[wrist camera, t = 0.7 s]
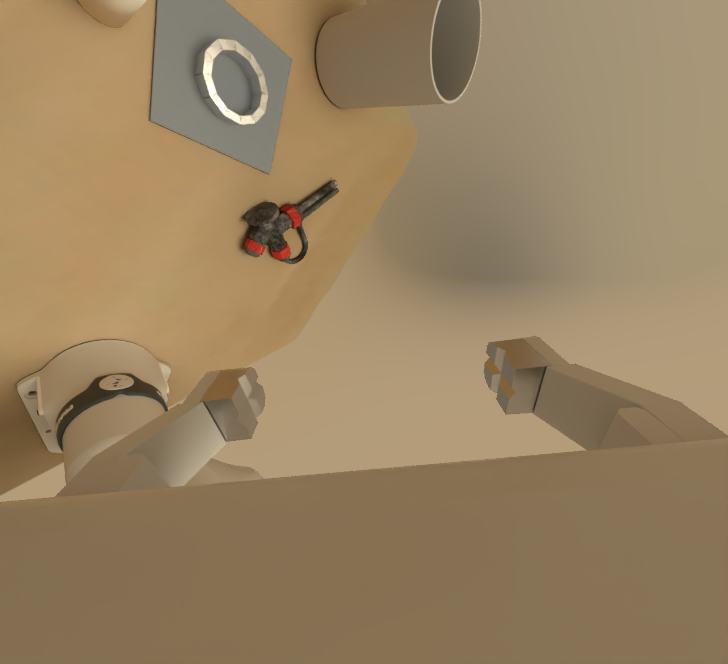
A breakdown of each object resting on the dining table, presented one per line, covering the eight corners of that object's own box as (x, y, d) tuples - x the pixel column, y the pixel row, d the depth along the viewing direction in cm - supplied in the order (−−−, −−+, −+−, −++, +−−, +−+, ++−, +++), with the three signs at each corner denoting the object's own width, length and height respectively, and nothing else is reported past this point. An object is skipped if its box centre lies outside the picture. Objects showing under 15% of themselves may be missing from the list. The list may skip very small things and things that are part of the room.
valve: (259, 280, 62) (222, 223, 49) (336, 219, 70) (321, 157, 58) (276, 292, 59) (241, 235, 46) (353, 227, 68) (342, 164, 55)
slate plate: (268, 174, 51) (269, 174, 51) (149, 120, 37) (150, 120, 37) (290, 59, 45) (291, 59, 45) (159, -54, 32) (161, -56, 31)
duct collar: (251, 135, 46) (261, 135, 44) (191, 102, 39) (199, 101, 37) (261, 72, 43) (272, 69, 41) (199, 25, 36) (208, 19, 34)
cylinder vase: (344, 124, 57) (447, 124, 43) (302, 64, 47) (418, 39, 33) (372, 67, 56) (487, 48, 42) (335, -6, 46) (470, -65, 32)
